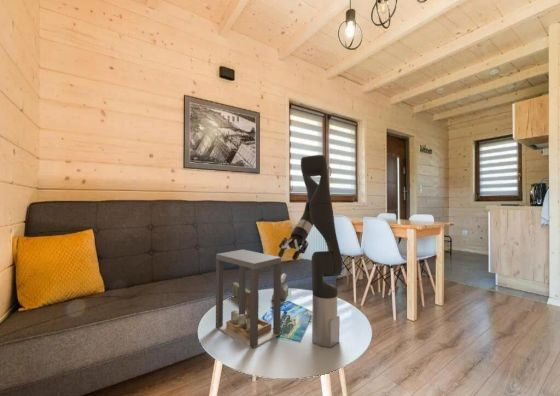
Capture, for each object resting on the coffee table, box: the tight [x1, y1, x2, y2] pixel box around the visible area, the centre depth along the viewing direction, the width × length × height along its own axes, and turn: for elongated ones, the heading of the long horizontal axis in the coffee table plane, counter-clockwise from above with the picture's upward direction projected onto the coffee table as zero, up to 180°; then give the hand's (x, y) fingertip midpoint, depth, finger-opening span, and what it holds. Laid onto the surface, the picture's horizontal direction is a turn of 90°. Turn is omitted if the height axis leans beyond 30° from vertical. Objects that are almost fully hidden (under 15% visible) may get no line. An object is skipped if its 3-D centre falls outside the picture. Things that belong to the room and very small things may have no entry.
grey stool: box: [215, 249, 282, 349], centre depth 110 cm, size 23×14×30 cm, turn 48°
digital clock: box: [271, 273, 289, 301], centre depth 148 cm, size 16×9×11 cm, turn 158°
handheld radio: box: [232, 281, 250, 305], centre depth 140 cm, size 7×3×25 cm
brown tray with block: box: [225, 291, 272, 340], centre depth 110 cm, size 14×11×14 cm
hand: (286, 257), depth 127 cm, fingers open, 8 cm apart
